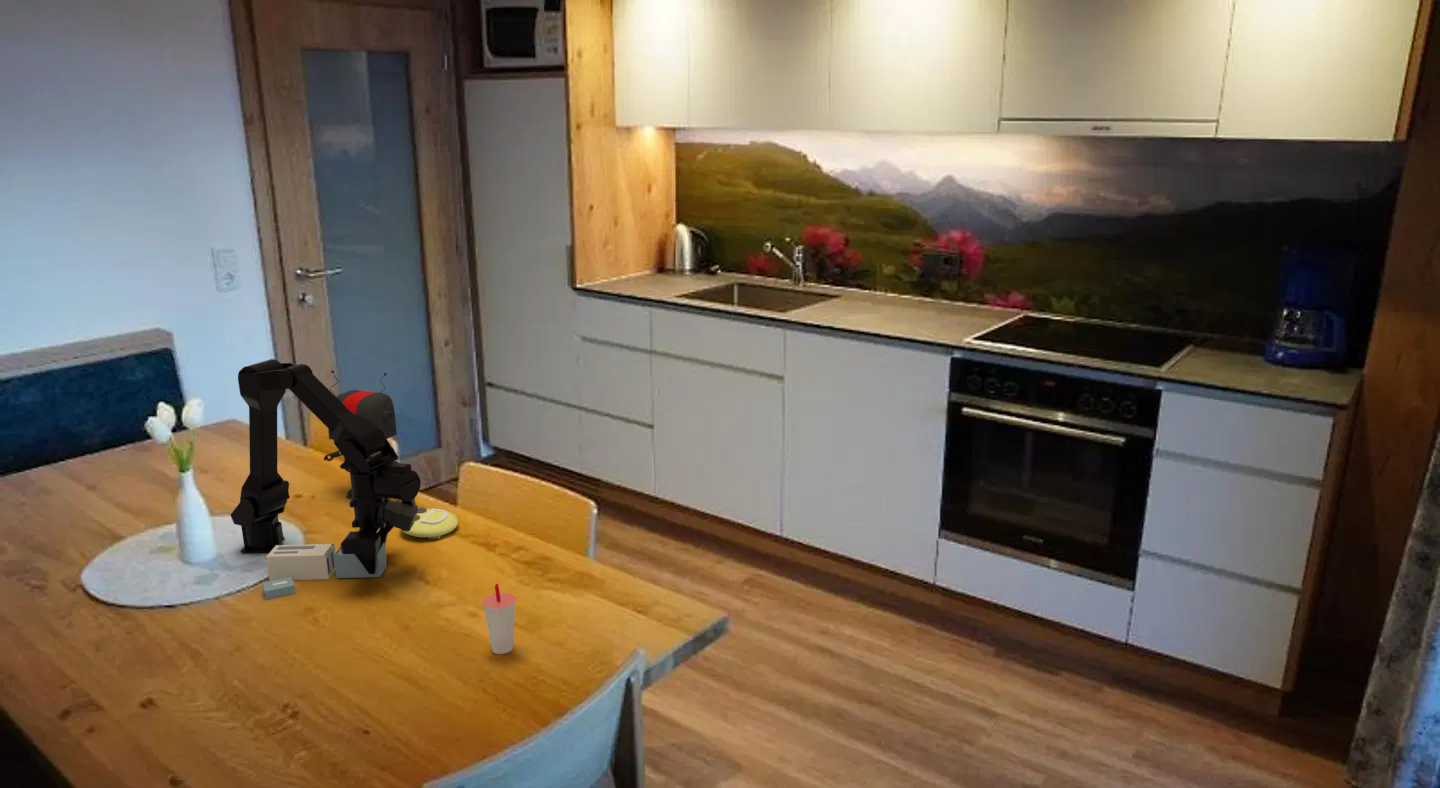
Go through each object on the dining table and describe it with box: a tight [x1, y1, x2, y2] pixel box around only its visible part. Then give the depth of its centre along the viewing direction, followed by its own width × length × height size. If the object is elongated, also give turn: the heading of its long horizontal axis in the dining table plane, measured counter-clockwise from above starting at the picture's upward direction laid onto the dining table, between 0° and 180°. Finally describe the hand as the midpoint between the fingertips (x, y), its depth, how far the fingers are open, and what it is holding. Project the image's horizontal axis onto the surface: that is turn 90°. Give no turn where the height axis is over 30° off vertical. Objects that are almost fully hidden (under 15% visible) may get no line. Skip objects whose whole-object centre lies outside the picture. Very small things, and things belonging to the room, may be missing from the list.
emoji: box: [401, 507, 459, 539], centre depth 205 cm, size 4×12×12 cm
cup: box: [482, 583, 517, 655], centre depth 159 cm, size 5×5×12 cm
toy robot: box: [323, 370, 403, 500], centre depth 220 cm, size 22×9×30 cm, turn 71°
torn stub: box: [262, 577, 296, 600], centre depth 180 cm, size 5×4×2 cm
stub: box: [334, 543, 388, 579], centre depth 187 cm, size 8×5×5 cm, turn 93°
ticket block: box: [265, 543, 336, 581], centre depth 186 cm, size 11×5×5 cm, turn 93°
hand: (376, 567), depth 187 cm, fingers closed on stub, 5 cm apart
